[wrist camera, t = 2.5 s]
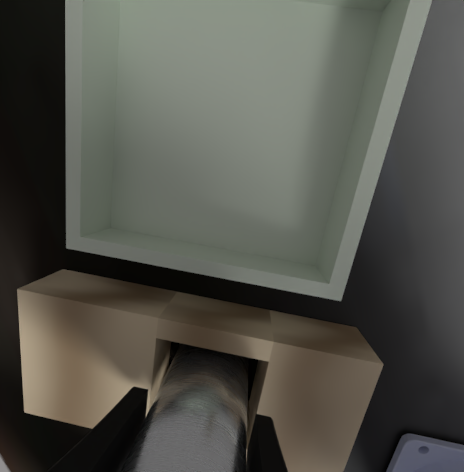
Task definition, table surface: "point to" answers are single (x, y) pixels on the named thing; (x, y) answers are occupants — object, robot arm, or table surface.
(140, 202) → the tray
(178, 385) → the white and gold cylinder
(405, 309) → the table surface
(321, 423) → the wooden block with hole
